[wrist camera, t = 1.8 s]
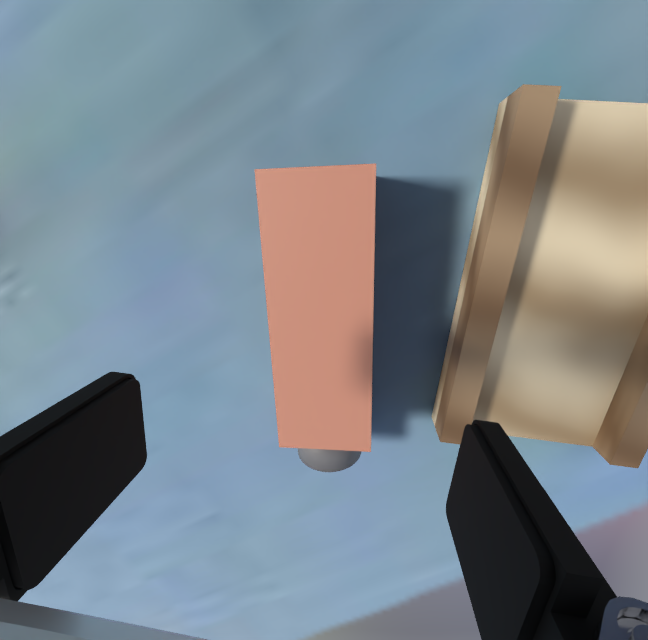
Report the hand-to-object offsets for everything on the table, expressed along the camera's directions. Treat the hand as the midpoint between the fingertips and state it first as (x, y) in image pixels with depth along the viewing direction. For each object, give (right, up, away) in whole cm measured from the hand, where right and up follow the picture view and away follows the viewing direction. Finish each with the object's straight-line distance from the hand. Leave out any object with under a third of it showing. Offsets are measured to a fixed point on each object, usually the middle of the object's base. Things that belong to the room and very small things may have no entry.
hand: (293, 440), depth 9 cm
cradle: (+14, +5, +9) cm, 18 cm away
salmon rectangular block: (+1, +5, +11) cm, 12 cm away
